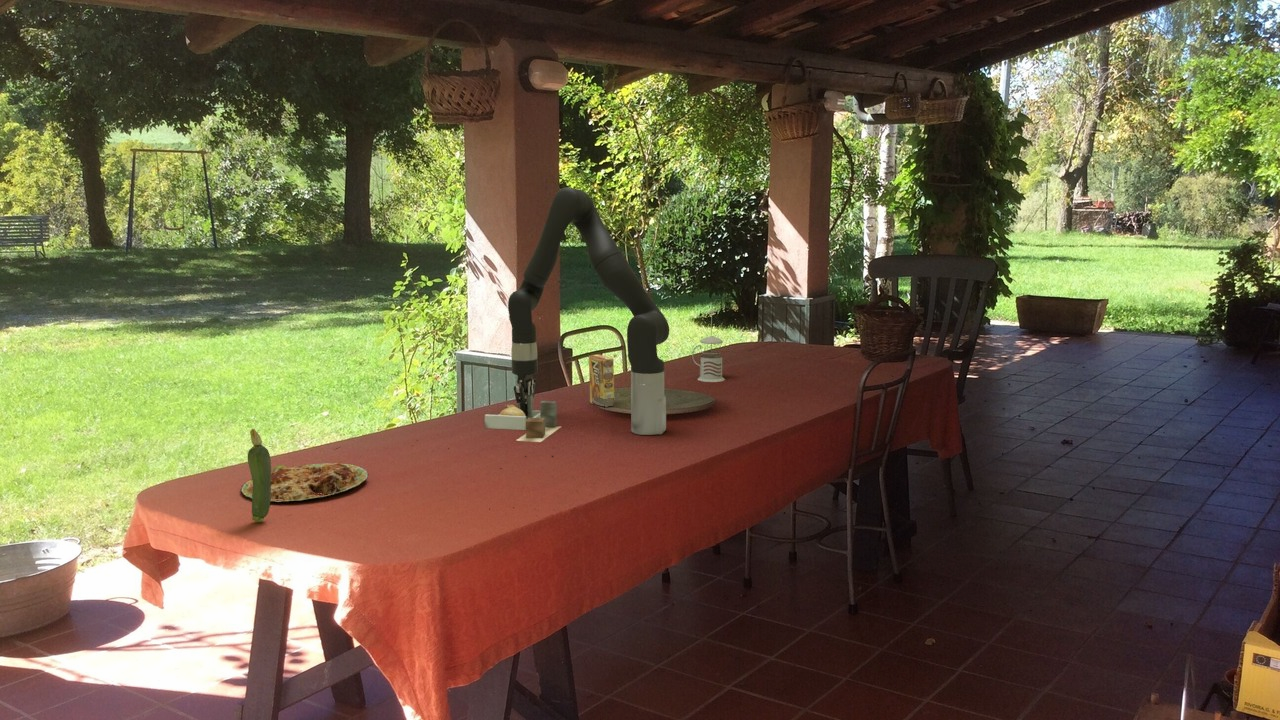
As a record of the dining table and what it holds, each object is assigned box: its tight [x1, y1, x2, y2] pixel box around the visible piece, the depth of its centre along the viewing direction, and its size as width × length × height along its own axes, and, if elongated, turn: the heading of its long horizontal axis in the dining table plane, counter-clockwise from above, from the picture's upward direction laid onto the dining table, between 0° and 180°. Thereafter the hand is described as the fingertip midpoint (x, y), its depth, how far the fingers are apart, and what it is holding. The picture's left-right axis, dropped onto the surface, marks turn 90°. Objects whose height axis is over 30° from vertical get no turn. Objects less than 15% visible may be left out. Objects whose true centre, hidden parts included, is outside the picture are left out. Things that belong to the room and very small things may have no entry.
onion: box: [499, 404, 525, 416], centre depth 288 cm, size 8×8×7 cm
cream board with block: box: [515, 400, 562, 443], centre depth 278 cm, size 7×19×8 cm, turn 167°
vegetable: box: [247, 428, 272, 523], centre depth 207 cm, size 4×4×20 cm
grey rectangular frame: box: [484, 394, 541, 431], centre depth 292 cm, size 12×19×7 cm, turn 167°
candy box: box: [588, 354, 615, 404], centre depth 319 cm, size 9×4×15 cm, turn 33°
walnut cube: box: [525, 418, 545, 438], centre depth 275 cm, size 4×4×4 cm
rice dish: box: [240, 462, 369, 503], centre depth 234 cm, size 28×28×5 cm
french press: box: [691, 309, 726, 383], centre depth 360 cm, size 10×12×25 cm
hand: (525, 415), depth 300 cm, fingers closed on grey rectangular frame, 2 cm apart
